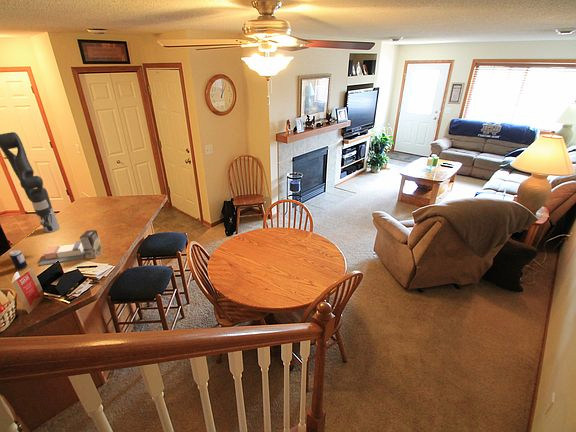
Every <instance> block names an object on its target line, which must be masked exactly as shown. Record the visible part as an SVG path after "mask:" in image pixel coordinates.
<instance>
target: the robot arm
mask: <svg viewBox="0 0 576 432" xmlns="http://www.w3.org/2000/svg"><path fill="white" fill-rule="evenodd" d="M16 148H17V153H16V154H15V153H14V152H12V151H11V150H10V149H16ZM0 149H1V152H3V154H4V156H5V157H6V159H7V160H8V162H9V164H10V166H11V168H12V170H13V172H14V174H15V175H16V177H17V178H18V180H19V182H20V186H21V188H22V189H23V190H24V192H25V195H26V197H27V198H28V200H29V201H30V202H31V204H32V207H33V209H34V213H35V214H36V216H37V217H38V219H40V221H39V223H40V225H41V226H42V228H43V229H44V232H46V233H54V232H56V231H58V230H59V229H60V225H59V222H58V219H57V217H56V214H55V211H54V209H53V207H52V206H53V205H52V203H51V200H50V196H49V193H48V191H47V189H46V188H45V187H44V180H43V179H42V178H41V176H39V175H35V174H34V173H35V172H34V169H33V168H32V164H31V163H30V161H29V158H28V157H27V153H26V150H25V147H24V145H23V142H22V140H21V138H20V136H19V135H18V133H16V132H14V131H13V132H11V131H10V132H7V133H2V134H0Z"/></svg>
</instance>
